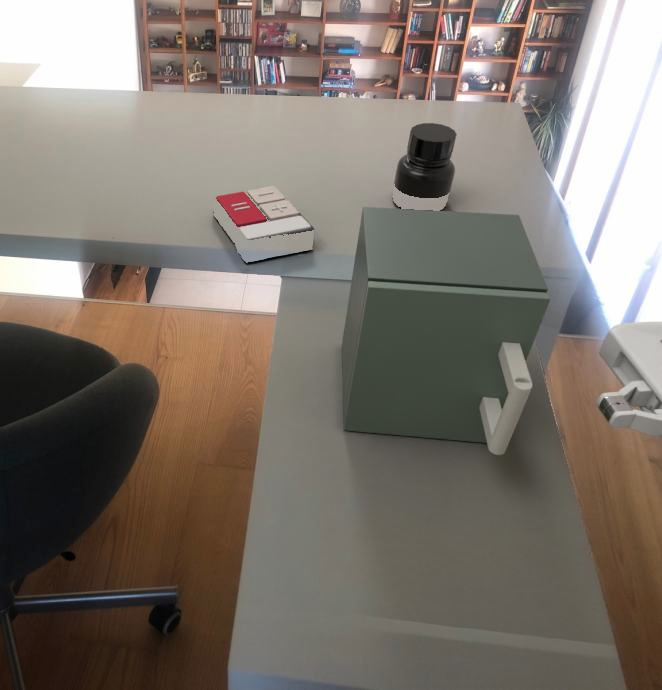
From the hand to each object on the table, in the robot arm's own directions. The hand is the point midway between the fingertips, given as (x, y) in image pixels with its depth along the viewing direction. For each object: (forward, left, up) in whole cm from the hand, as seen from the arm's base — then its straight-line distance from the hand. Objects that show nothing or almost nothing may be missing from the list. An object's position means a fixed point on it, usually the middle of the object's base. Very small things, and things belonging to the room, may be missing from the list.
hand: (605, 410), depth 64 cm
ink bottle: (+56, +10, -11) cm, 58 cm away
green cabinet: (+12, +15, -11) cm, 22 cm away
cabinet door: (+1, +15, -10) cm, 18 cm away
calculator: (+44, +35, -11) cm, 57 cm away
